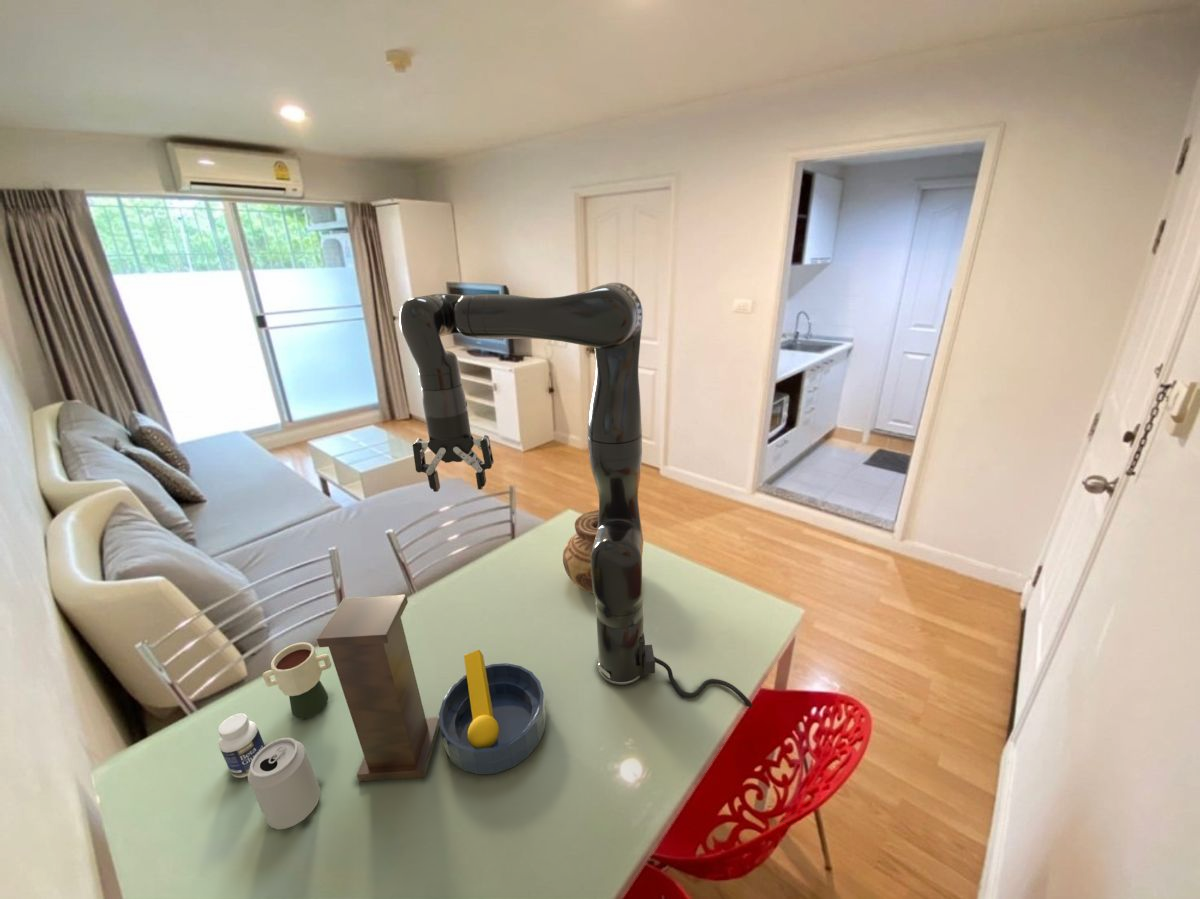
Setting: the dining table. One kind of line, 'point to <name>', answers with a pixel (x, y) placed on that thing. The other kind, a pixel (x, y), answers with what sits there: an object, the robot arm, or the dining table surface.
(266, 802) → the can
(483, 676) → the yellow lever
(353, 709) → the stand
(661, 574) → the dining table surface
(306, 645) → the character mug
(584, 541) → the clay pot
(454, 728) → the bowl
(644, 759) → the dining table surface
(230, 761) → the pill bottle
